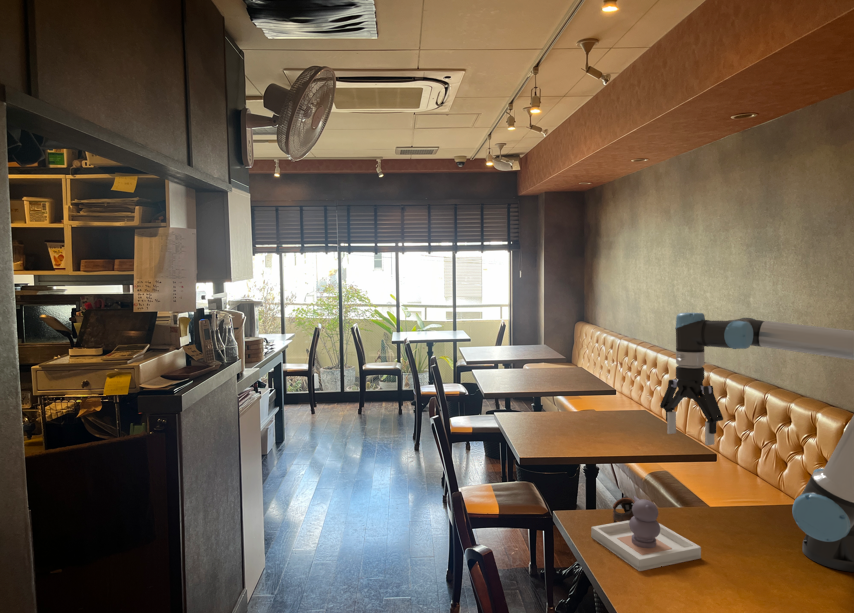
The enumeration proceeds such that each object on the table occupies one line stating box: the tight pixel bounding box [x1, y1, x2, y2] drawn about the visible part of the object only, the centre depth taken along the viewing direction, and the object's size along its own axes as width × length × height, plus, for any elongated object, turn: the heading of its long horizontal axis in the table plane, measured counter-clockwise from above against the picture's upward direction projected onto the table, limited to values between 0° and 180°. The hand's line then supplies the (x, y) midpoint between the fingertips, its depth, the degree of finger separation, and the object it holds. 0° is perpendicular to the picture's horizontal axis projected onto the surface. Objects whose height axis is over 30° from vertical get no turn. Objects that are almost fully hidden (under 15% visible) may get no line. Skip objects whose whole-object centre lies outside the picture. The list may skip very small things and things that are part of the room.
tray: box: [590, 520, 702, 572], centre depth 156 cm, size 20×20×3 cm
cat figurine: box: [629, 495, 660, 548], centre depth 156 cm, size 8×8×12 cm
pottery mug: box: [612, 495, 635, 523], centre depth 173 cm, size 12×9×8 cm
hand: (689, 438), depth 164 cm, fingers open, 13 cm apart
